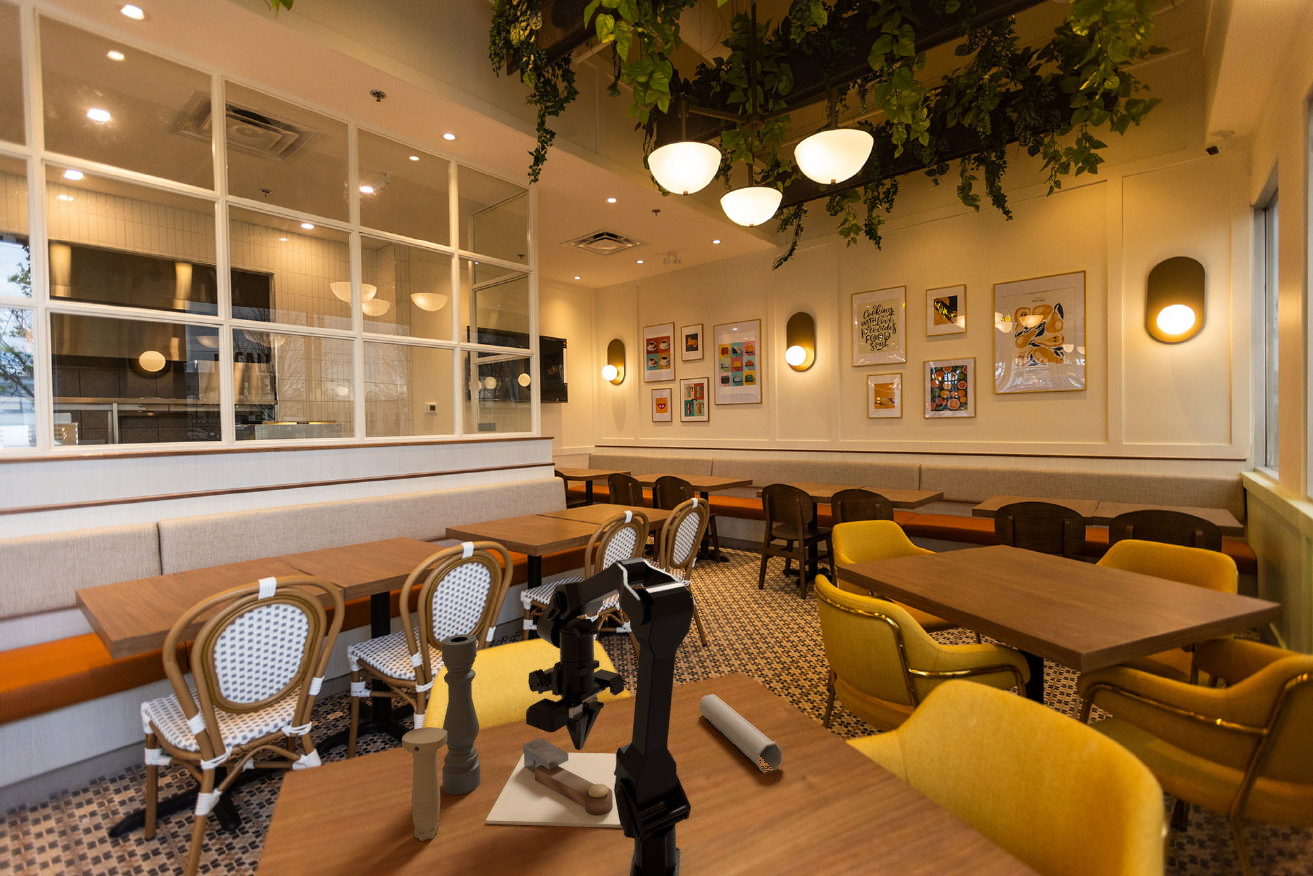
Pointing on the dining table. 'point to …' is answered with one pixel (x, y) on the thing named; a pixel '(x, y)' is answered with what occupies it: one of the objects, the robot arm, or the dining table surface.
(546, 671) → the robot arm
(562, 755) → the block
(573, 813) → the pivot plate
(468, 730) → the candle holder
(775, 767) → the tube
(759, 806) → the dining table surface
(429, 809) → the handle
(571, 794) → the link
